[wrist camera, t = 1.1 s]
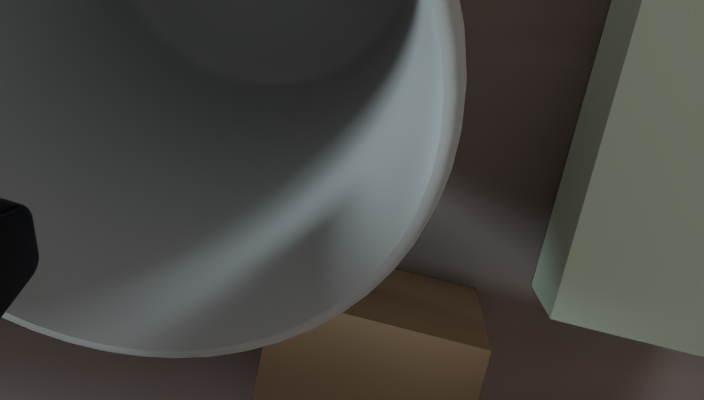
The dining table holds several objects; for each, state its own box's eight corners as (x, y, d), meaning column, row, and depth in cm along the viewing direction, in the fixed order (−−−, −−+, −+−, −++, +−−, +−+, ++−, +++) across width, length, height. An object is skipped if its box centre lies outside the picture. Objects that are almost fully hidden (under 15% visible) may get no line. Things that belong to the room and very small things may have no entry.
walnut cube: (435, 441, 20) (437, 549, 15) (278, 399, 21) (232, 491, 16) (475, 288, 20) (491, 351, 15) (311, 247, 20) (273, 295, 15)
